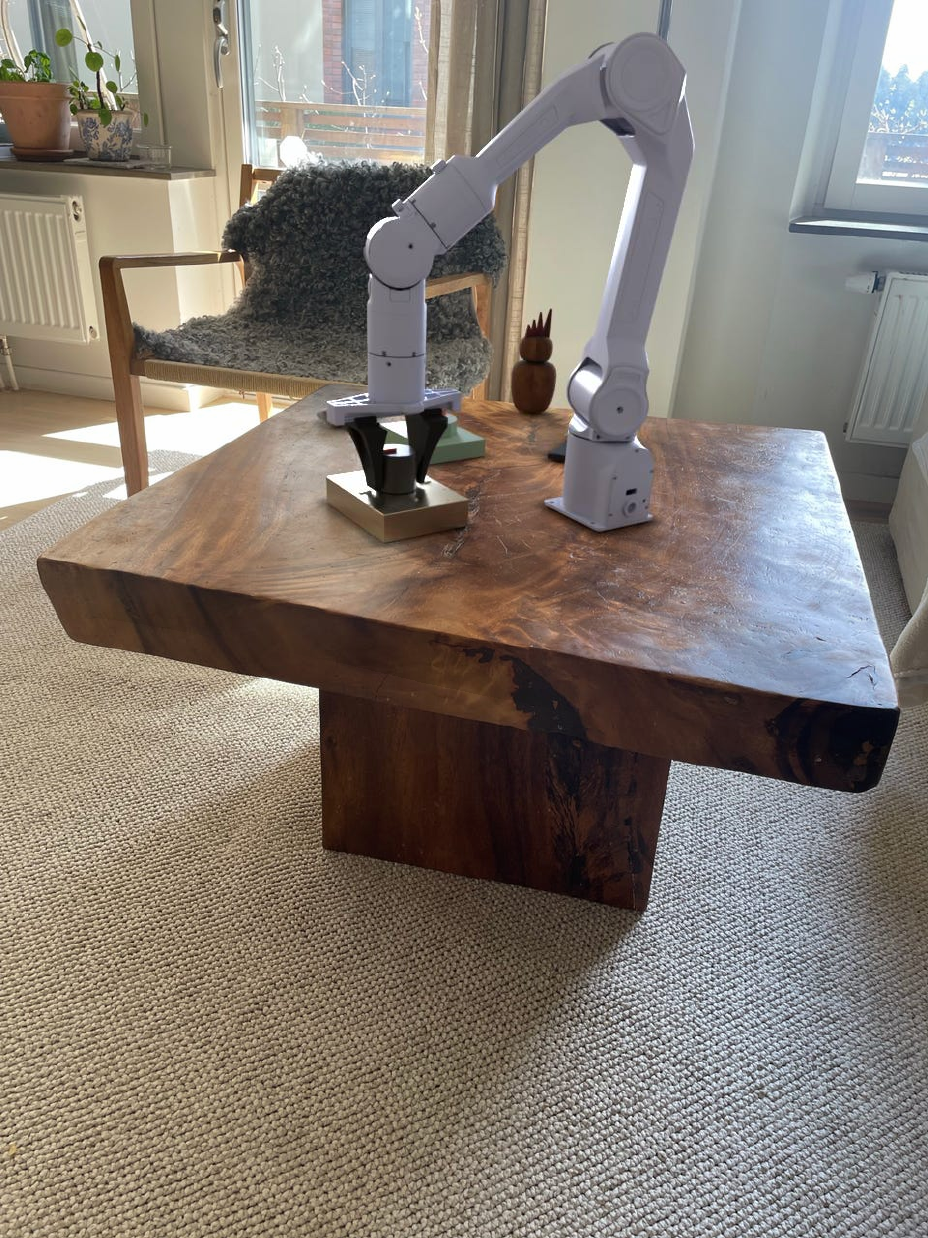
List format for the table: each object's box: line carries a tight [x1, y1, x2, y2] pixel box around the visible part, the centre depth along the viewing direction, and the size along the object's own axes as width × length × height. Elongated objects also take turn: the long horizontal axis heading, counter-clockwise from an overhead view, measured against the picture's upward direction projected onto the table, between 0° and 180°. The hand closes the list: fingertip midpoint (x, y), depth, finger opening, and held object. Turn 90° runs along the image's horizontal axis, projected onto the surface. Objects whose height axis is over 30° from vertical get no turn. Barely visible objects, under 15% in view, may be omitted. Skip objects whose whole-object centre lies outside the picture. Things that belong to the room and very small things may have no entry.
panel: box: [325, 470, 470, 544], centre depth 94 cm, size 13×10×3 cm
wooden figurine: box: [510, 308, 557, 414], centre depth 133 cm, size 7×6×15 cm
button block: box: [380, 412, 487, 466], centre depth 116 cm, size 12×9×4 cm
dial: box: [379, 444, 417, 494], centre depth 93 cm, size 4×4×4 cm
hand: (395, 484), depth 93 cm, fingers open, 5 cm apart
